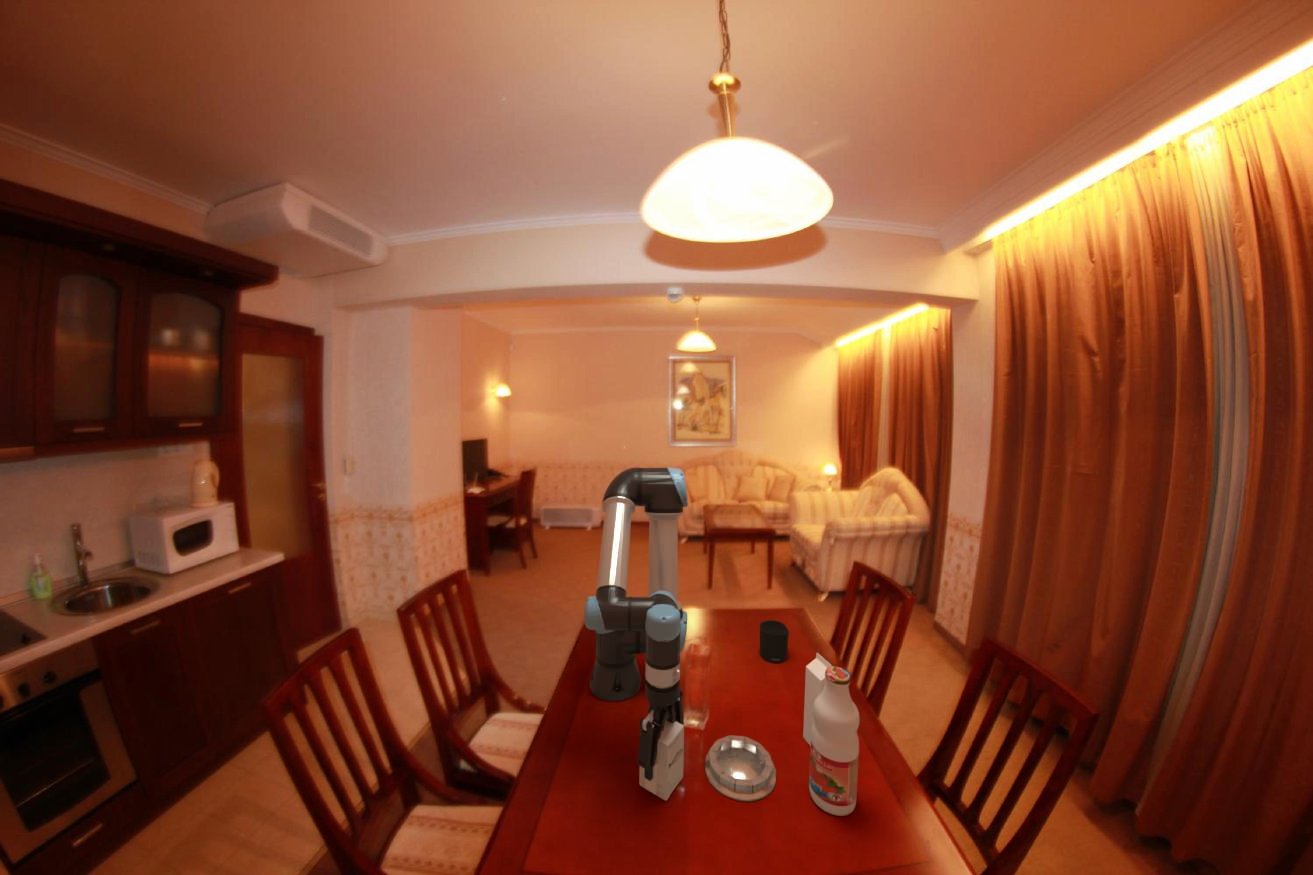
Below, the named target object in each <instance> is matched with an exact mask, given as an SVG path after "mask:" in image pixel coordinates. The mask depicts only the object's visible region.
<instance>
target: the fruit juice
mask: <svg viewBox="0 0 1313 875" xmlns="http://www.w3.org/2000/svg"><path fill="white" fill-rule="evenodd" d="M825 679H826V683H825V685H824V688H823V690H822V692H821V693H820V694H819V695H818V696H817V697H816V699H815V701H814V704H813V714H814V718H815V721H814V723H813V725H812V731H811V746H810V756H809V778H808V780H809V782H808V783H809V784H808V788H809V793H810V797H811V798H812V801H813V802H814V803H815V804H816V805H817V806H818V807H819V808H820V809H821V810H822V811H824V812H826V813H828V814H830V815H834V816H840V817H844V816H848V815H849V814H852V812H853V811H854V810H855V808H856V804H857V796H858V795H857V792H858V773H859V772H858V770H859V754H860V742H859V741H860V740H859V735H858V732H857V731H858V729H859V726H860V712H859V710H858V707H857V705H856V704H855V702H854V701H853V700H852V697H851V694H850V688H849V685H850V684H851V674H850V673H849V671H848V670H846V669H844V668H842V667H840V666H834V665H832V666H831V667H828V668H827V669H826V670H825Z"/></svg>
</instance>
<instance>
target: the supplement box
mask: <svg viewBox="0 0 1313 875" xmlns="http://www.w3.org/2000/svg"><path fill="white" fill-rule="evenodd" d="M654 723H655V722H654ZM655 724H657V723H655ZM657 725H659V724H657ZM659 726H660V725H659ZM684 741H685V724H684V725H682V724H680V723H679V722H678V721H677V722H676V721H675V722H674V723H671V722H669V721H667V720H666V721H665V726H664V730H663V731H661V735H660V739H659V740H658V745H657V755H656V760H655V762H656V763H657V793H656V794H654V793H652V794H653V795H655V796H657V797H658V798H660V799H662V800H664V801H667V800H668V799H669V798H670V796H671V794H672V793H673V791H674V790H675V789H676V787H677V786H678V784H679V783H681V781H682V780H683V778H684V758H685V757H684V756H685V755H684V754H685V753H684V752H685V750H684V749H685V747H684V746H685V742H684ZM638 770H639V773H638V774H639V778H638V779H639V780H638V784H639V786H640V787H642V788H643V789H645V790H647V789H646V788H645V777H644V768H642V767H641V766H639V769H638ZM647 791H648V792H650V791H649V790H647Z"/></svg>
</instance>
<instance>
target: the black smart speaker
mask: <svg viewBox="0 0 1313 875" xmlns="http://www.w3.org/2000/svg"><path fill="white" fill-rule="evenodd" d="M789 634H790V630H789V629H788V628H787V626H786V625H785V623H783V622H781V621H778V620H773V619H771V620H770V619H769V620H764V621H763V620H762V622H760V624H759V654H760V657H761V658H762V659H763V660H764V661H767V662H769V663H771V664H781V663H783V662H785V661H786V660H787V657H788V650H789V649H788V648H789V638H790V637H789V636H790V635H789Z"/></svg>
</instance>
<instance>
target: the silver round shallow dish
mask: <svg viewBox="0 0 1313 875" xmlns="http://www.w3.org/2000/svg"><path fill="white" fill-rule="evenodd" d="M704 761H705V762H704V771H705V775H706V777H707V780H708V782H709V783H710V784H711V786H712V787H713V788H714V789H715V790H716V791H717V792H718V793H720V794H722V795H723V796H724V797H727V798H729V799H731V800H734V801H737V802H747V803H748V802H749V803H750V802H751V803H752V802H756V801H760V800H762V799H764V798H767V796H769V795H770V794H771V793H772V791H773V790H774V788H775V786H776V782H777V770H776V767H775V766H776V765H775V764H774V762H773V760H772V756H771V755H770V752H769V751H768V750H766V749H765V747H764V746H763V745H762V744H761V743H759V742H758V741H756V740H754V739H752V738H750V737H747V736H744V735H732V734H731V735H726V736H723V737H721V738H719V739H717V740H715V741H714V743H713V744H712V746H711V747H710V748H709V751H708V752H707V754H706V757H705V759H704Z"/></svg>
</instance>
